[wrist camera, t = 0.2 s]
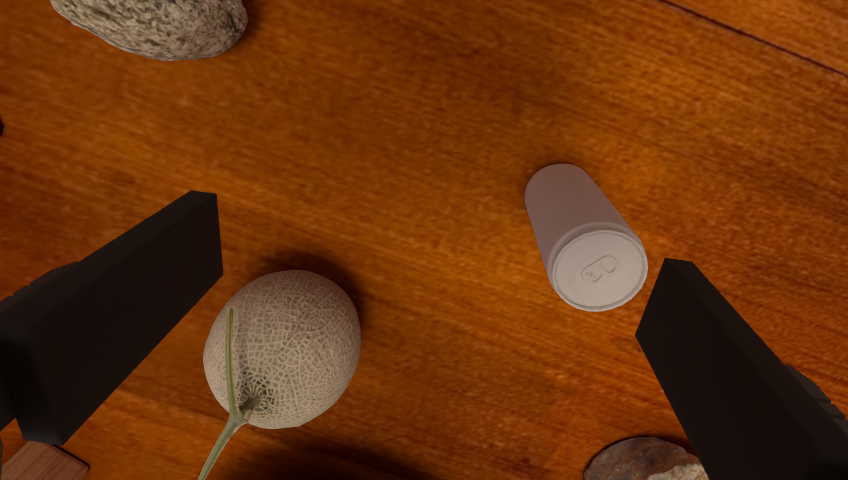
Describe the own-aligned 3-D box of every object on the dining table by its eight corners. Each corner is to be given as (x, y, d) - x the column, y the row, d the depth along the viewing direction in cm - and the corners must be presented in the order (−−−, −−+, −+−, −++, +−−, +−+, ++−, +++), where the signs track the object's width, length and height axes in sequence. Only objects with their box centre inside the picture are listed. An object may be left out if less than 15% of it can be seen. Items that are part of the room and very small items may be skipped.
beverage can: (510, 187, 34) (529, 263, 23) (568, 146, 33) (618, 207, 22) (547, 235, 35) (582, 329, 25) (605, 198, 34) (669, 281, 23)
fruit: (354, 228, 36) (287, 349, 23) (383, 348, 41) (342, 509, 28) (229, 243, 38) (97, 365, 24) (271, 358, 43) (179, 514, 29)
